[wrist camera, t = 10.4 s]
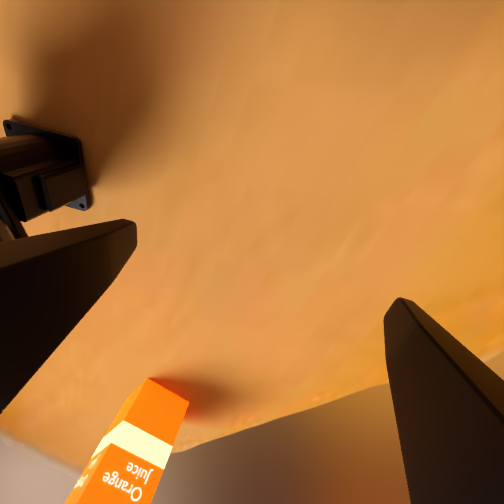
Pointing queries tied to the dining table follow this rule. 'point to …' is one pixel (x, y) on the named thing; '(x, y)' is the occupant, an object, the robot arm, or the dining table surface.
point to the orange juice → (133, 449)
